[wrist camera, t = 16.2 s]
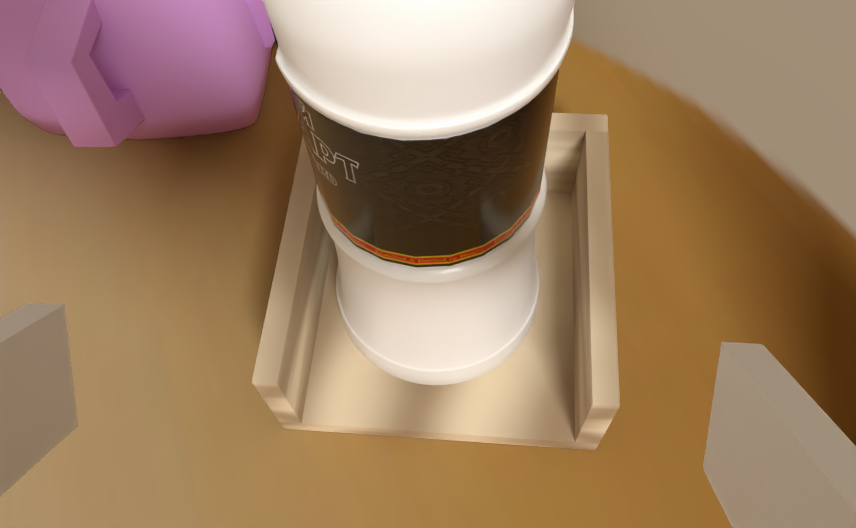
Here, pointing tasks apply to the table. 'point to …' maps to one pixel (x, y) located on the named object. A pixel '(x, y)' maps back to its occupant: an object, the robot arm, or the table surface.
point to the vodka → (428, 167)
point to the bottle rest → (490, 393)
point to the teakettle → (135, 66)
